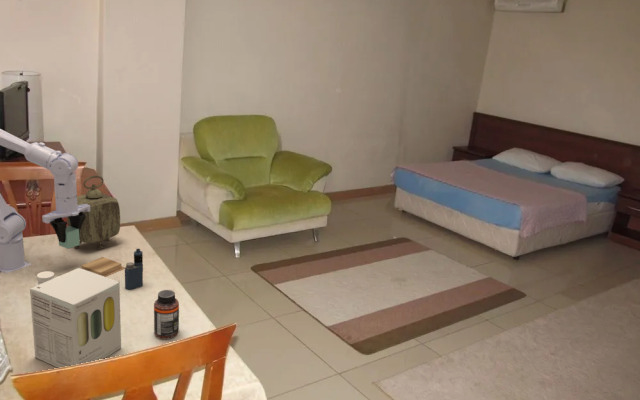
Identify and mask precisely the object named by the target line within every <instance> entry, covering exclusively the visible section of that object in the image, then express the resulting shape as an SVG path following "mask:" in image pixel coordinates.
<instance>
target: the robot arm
mask: <svg viewBox="0 0 640 400" xmlns="http://www.w3.org/2000/svg"><path fill="white" fill-rule="evenodd" d="M0 146H1V147H3V148H6V149H9V150H11V151H14V152H17V153H20V154H22V155H24V157H25V160H26V161H28V162H30V163H32V164H35V165H37V166H39V167H42V168H43V169H46V170H47V171H50V173H51V175H53V184H54V198H55V210H53V211H50V212H48V213H46V214H43V215H42V216H41V217H42V223H45V224H50V225H51V226H52V228H53V230H54V232H55V234H56V237H57V239H58V242H59V241H60V242H62V243H64V242H65V240H66V233H65V232H66V227H67V226H68V223H67V221H65V220H64V218H65V219H66V218H67V217H68V216H69V220H70V224H71V227H74V228H77V229H79V234H80V230H81V226H82V224H83V222H84V220H85V219H86V215H85V214H83V212H89V211H90V205H88V204H83V205H77V197H78V193H77V192H78V189H77V175H76V171H77V169H78V167H79V161H78V159H77V157H76V156H74V155H73V154H72V153H69V152H64V153H62V151H61V150H55V149H53V148H50V147H48V146H47V145H46V143H44V142H41V141H40V142H36V141H35V142H32V143H29V142H28V141H25V140H23V139H21V138H20V137H17V136H16V135H13V134H11V133H9V132H7V131H5V130H3V129H1V128H0ZM26 226H27V221H26V219H25V218H24V217H23V216H22V215H21V214H20V213H18V211H17V210H16V208H14V207H13V206H10V205H8V204H7V202H6V201H5V199H4V197H3V195H2V194H1V193H0V272H1V273H6V274H8V273H11V272H14V271H18V270H20V269H23V268H25V267H28V266H32V263H30V262H28V261H26V260H25V259H26V257H25V248H24V247H25V246H24V235H23V231H24V230H25V228H26Z"/></svg>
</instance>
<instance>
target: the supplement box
mask: <svg viewBox="0 0 640 400" xmlns="http://www.w3.org/2000/svg"><path fill="white" fill-rule="evenodd" d="M54 277H55V276H54ZM29 294H30V295H29V296H30V306H31V307H30V308H31V318H32V321H31V322H32V333H33V334H32V336H33V346H34V358H36V359H38V360H41V361H42V362H45V363H47V364H49V365H50V366H54V367H56V368H58V367H65V366H71V365H76V364H81V363H86V362H91V361H95V360H99V359H103V358H104V359H105V358H107V357H109V356H110V355H112V354H114V353H115V352H116V351H119V350H120V349H121V348H122V333H121V331H122V330H121V329H122V328H121V327H122V326H121V325H122V324H121V293H120V281H117V280H115V279H113V278H109V277H108V276H107V277H104V276H101V275H98V274H95V273H93V272H90V271H87V270H84V269H81V268H80V267H77V268H75V269H73V270H70V271H68V272H66V273H63V274H61V275H58V276H56V277H55V278H53V279H51V280H49V281H47V282H44V283H42V284H39V285H37V286H35V285H34V286H33V287H30V288H29ZM104 359H103V360H104Z"/></svg>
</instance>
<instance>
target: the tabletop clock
mask: <svg viewBox="0 0 640 400" xmlns="http://www.w3.org/2000/svg"><path fill="white" fill-rule="evenodd" d="M96 178H97V179H100V180H101V182H100V184H98V185H96V184H94V183H93V184H92V185H91V186H87V185H86V182H87V181H88V180H90V179H96ZM104 180H105V179H104V178H103V177H102V176H100V175H91V176H88V177H87V178H85V179H84V181H83V187H84V188H85V189H87V191H86V193H84V194H82V195H77V205H83V204H88V205H90V211H89V212H83V214H85V215H86V219H85V220H84V222H83V224H82V226H81V230H80V234H79V241H80V245H82V244H85V243H86V244H91V243H98V245H97V249H98V250H101V249H103V244H101V241H104V242H105V241H106V242H107V241H109V238H110V239H111V238H113V237H116V236H117V235H118V234H119V232H120V229H121V210H120V204H119V201H118V199H117V198H115V197H112V196H111V195H108V194H105V193H102V191H101V190H100V189H98V188H99V187H101V186H102V185H103V184H104ZM66 222H67V227H68V226H71V224H70V220H69V216H68V217H66ZM80 245H78V246H75V247H73V248H74V249H76V250H77V249H80Z"/></svg>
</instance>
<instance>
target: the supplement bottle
mask: <svg viewBox="0 0 640 400" xmlns="http://www.w3.org/2000/svg"><path fill="white" fill-rule="evenodd" d="M179 319H180V303H179V300H178V298H176V292H175V291H174V290H173V289H172V290H171V289H163V290H161V291H159V292H158V293H157V299H156V300H155V301H154V303H153V326H154V327H153V334H154V335H155V337H156V338H159V339H162V340H170V339H172V338H174V337H176V336H177V335H178V334H179V332H180V330H179V329H180V320H179Z"/></svg>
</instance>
